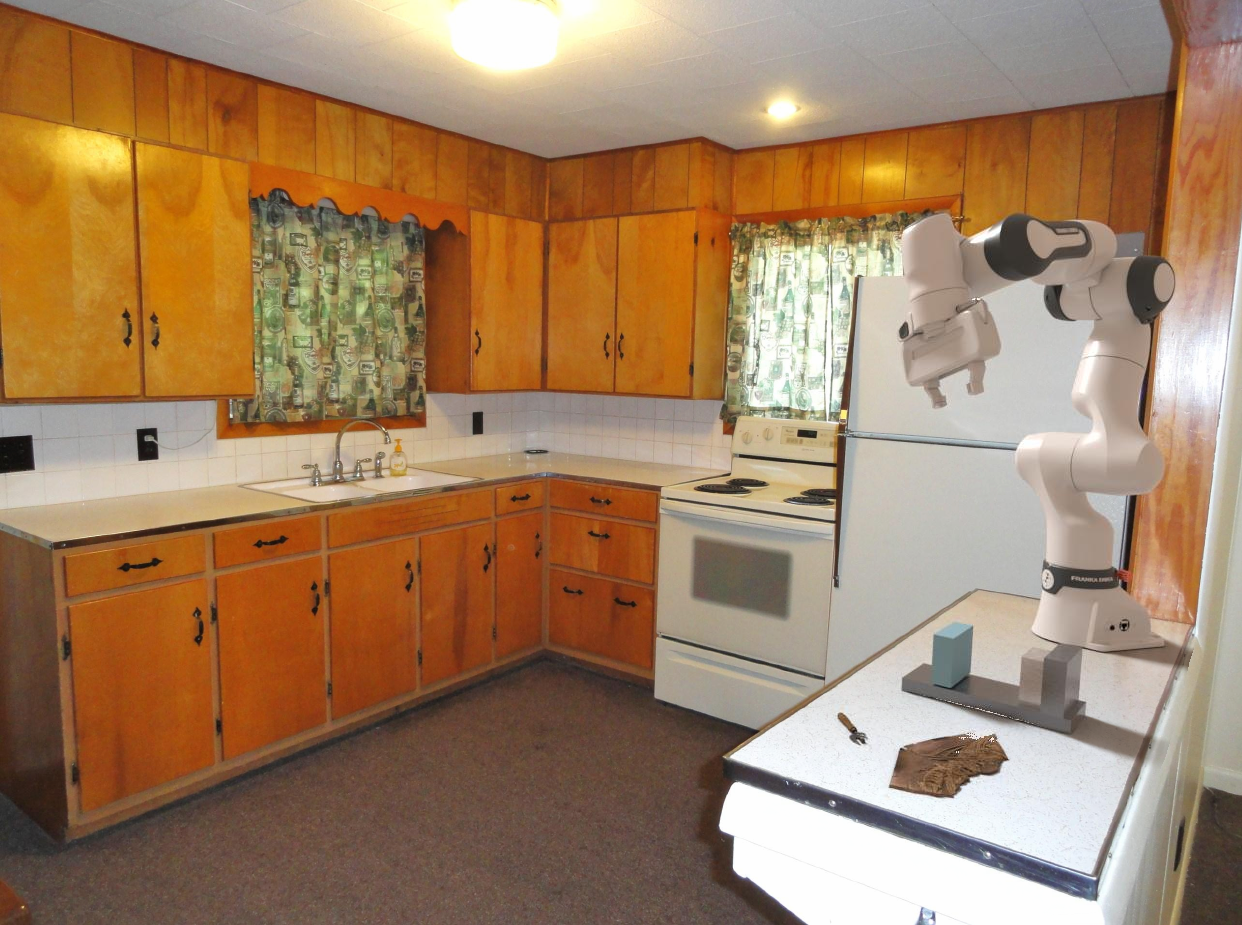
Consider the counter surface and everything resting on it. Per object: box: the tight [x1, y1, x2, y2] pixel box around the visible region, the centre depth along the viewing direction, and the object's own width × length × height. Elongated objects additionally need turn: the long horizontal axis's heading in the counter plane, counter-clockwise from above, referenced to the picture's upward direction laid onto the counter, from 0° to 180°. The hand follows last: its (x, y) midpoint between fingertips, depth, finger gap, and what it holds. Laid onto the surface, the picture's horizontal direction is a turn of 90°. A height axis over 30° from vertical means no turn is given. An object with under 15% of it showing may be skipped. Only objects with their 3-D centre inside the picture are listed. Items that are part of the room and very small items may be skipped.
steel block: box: [1018, 646, 1052, 709], centre depth 122 cm, size 3×6×7 cm, turn 139°
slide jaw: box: [931, 621, 974, 688], centre depth 130 cm, size 3×9×8 cm, turn 139°
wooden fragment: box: [888, 732, 1009, 798], centre depth 108 cm, size 26×11×1 cm, turn 129°
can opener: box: [837, 712, 867, 746], centre depth 116 cm, size 9×2×1 cm, turn 0°
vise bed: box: [901, 643, 1087, 735], centre depth 126 cm, size 24×9×10 cm, turn 49°
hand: (957, 401), depth 129 cm, fingers open, 8 cm apart
